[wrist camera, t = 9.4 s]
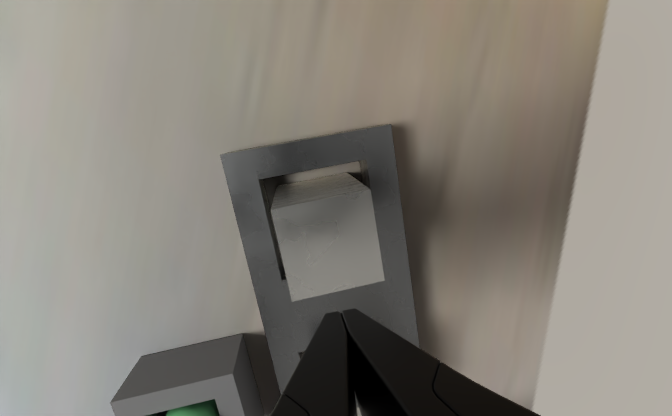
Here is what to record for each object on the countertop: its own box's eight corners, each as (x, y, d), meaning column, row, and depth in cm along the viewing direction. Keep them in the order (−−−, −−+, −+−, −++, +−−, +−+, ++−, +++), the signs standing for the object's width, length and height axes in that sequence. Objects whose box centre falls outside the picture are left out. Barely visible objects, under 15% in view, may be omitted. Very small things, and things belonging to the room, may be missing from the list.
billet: (346, 172, 19) (370, 189, 13) (357, 237, 20) (384, 280, 14) (277, 185, 19) (270, 209, 13) (292, 251, 20) (291, 301, 14)
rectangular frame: (417, 397, 23) (429, 421, 21) (295, 428, 22) (296, 456, 20) (380, 125, 19) (390, 124, 17) (227, 152, 18) (220, 154, 16)
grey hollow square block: (264, 413, 22) (259, 465, 18) (170, 436, 21) (147, 494, 18) (242, 333, 20) (232, 373, 17) (141, 356, 20) (110, 402, 16)
